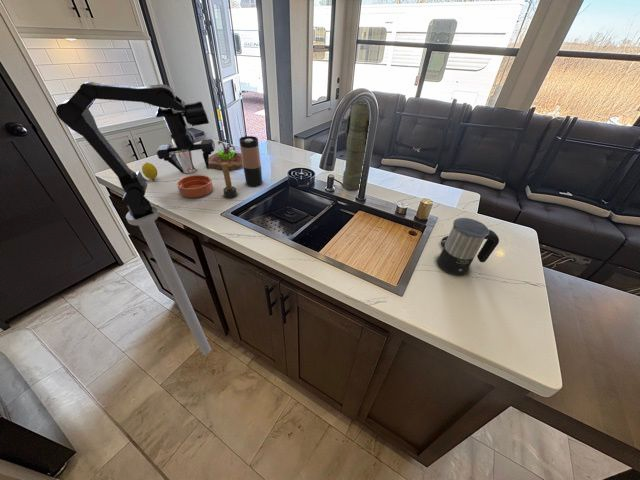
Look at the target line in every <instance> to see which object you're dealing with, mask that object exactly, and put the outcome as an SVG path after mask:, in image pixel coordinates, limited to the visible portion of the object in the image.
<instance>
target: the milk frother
mask: <svg viewBox="0 0 640 480" xmlns="http://www.w3.org/2000/svg"><path fill="white" fill-rule="evenodd" d="M452 224H453V226H452V227H451V230H450V232H449V234H448V235H446V236H443V238H441V240H440V244H441V245H440V246H442V250H441V252H440V254H439V256H438V257H437V258H436V263H437V265H438V267H439V268H440V269H442V271H444V272H445V273H448V274H450V275H453V276H454V275H455V276H463V275H466V274H467V273H468V272H469V268H470V266H471V265H472V263H473V261H474V259H475V257H476V258H477V259H478V262H480V263H485V262H487V260H488V259H489V257H490V256H491V254H492V253H493V252H494V250H495V249H496V248H497V246H498V245H499V243H500V238H499V236H498V234H497V233H496V232H495V231H494V230H492V229H489V228H488V227H487V226H486V225H485V224H484V223H482V222H480V221H479V220H476V219H473V218H468V217H459V218H456V219H455V220H453V223H452ZM484 240H485V242H484ZM483 242H484V244H483ZM482 244H483V245H482ZM481 245H482V247H481ZM480 247H481V249H480Z"/></svg>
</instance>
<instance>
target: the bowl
mask: <svg viewBox="0 0 640 480" xmlns="http://www.w3.org/2000/svg"><path fill="white" fill-rule="evenodd" d="M176 187H177V190H178V192H179V195H181V196H182V197H186V198H190V199H197V198H201V197H205V196H207V195H209V194H210V193H211V192H212V191H213V189H214V186H213V182H212V179H211V177H209V176H208V175H204V174H194V175H187V176H184V177H182V178H180V179H178V181H177V182H176Z"/></svg>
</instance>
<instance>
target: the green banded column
mask: <svg viewBox="0 0 640 480" xmlns="http://www.w3.org/2000/svg"><path fill="white" fill-rule="evenodd" d="M368 126H369V127H370V124H369V108H368V105H367V104H366V103H365V101H358V102H355V103H354V104H353V107H352V110H351V113H350V114H348V116H347V117H346V126H345V140H344V141H346V146H345V148H346V158H345V167H344V170H343V175H342V188H343V189H345V190H347V191H349V192H356V191H359V190H360V189H359V184H360V179H361V173H362V166H363V167H364V165H363V159H364V153H365V154H366V152H365V145H366V139H367V133H369V131H368V129H369V127H368ZM364 160H365V159H364Z"/></svg>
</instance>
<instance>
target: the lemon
mask: <svg viewBox="0 0 640 480" xmlns="http://www.w3.org/2000/svg"><path fill="white" fill-rule="evenodd" d="M141 171H142V172H141V173H142V174H143V176H144V177H146V178H147V179H149V180H153V181H154V180H155V179H156V178H157V177H158V169H157V168H156V166H155V165H154V164H153V163H151V162H148V161H147V162H144V164H143V165H142V166H141Z"/></svg>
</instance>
